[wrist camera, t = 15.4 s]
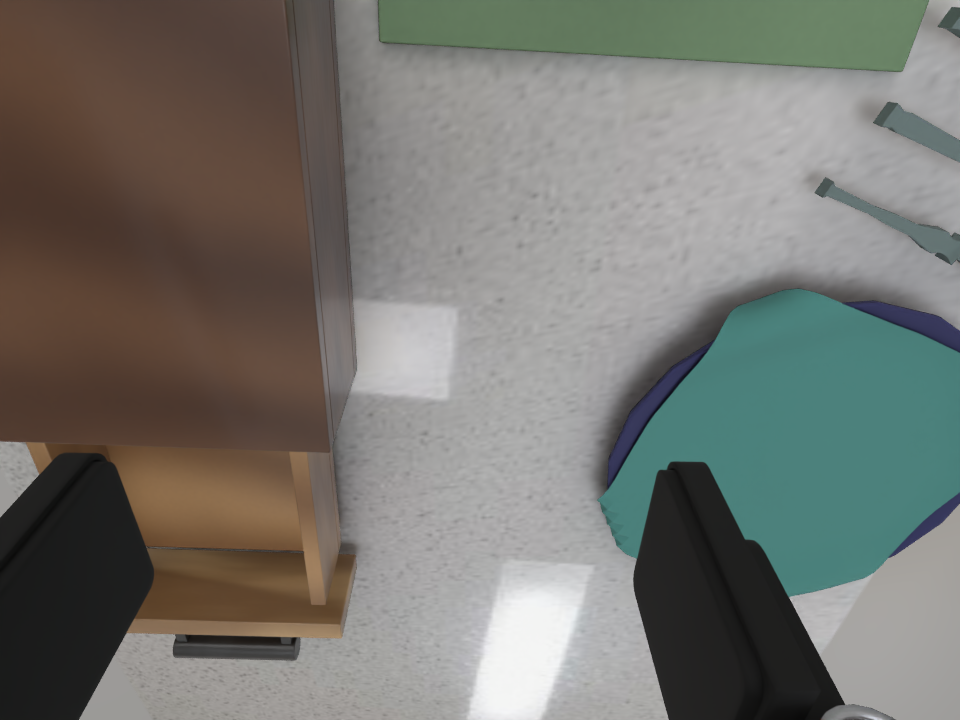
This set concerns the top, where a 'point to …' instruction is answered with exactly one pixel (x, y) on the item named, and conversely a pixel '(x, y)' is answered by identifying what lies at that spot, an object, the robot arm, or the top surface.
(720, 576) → the robot arm
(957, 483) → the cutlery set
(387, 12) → the mat
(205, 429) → the cabinet
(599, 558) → the top surface
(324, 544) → the drawer
